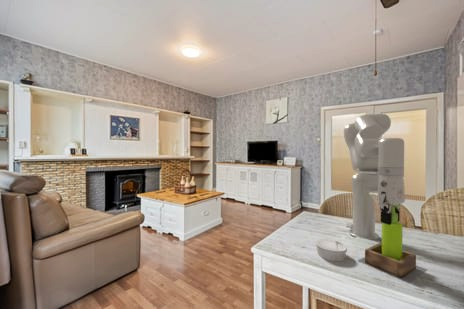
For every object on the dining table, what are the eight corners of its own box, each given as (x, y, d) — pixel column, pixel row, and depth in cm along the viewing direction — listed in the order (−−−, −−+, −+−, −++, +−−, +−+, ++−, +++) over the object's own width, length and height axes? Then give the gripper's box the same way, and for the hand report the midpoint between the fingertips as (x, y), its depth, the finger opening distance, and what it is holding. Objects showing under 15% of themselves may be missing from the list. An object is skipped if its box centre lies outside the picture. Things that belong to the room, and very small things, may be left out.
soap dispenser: (380, 252, 81) (380, 200, 81) (403, 258, 76) (403, 203, 76) (376, 257, 77) (377, 203, 77) (400, 264, 72) (401, 207, 72)
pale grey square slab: (357, 263, 80) (357, 260, 80) (377, 253, 88) (377, 251, 88) (409, 286, 67) (409, 283, 67) (427, 272, 74) (427, 269, 74)
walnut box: (364, 262, 79) (365, 249, 79) (380, 255, 85) (380, 242, 84) (401, 278, 69) (401, 263, 69) (415, 268, 75) (416, 254, 75)
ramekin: (353, 263, 81) (353, 249, 80) (327, 266, 78) (327, 252, 78) (333, 249, 92) (333, 237, 91) (310, 252, 89) (310, 240, 89)
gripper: (391, 174, 69) (390, 229, 69) (413, 171, 77) (412, 220, 78) (367, 172, 75) (366, 223, 75) (389, 170, 84) (389, 215, 84)
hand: (390, 221), depth 77 cm, fingers closed on soap dispenser, 5 cm apart
